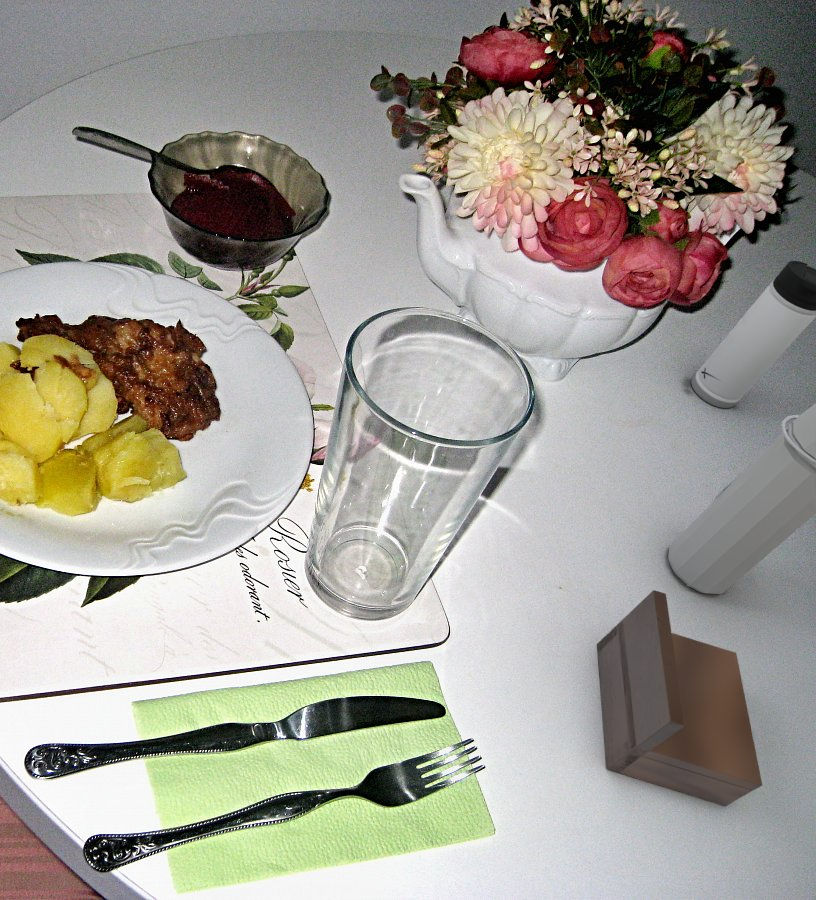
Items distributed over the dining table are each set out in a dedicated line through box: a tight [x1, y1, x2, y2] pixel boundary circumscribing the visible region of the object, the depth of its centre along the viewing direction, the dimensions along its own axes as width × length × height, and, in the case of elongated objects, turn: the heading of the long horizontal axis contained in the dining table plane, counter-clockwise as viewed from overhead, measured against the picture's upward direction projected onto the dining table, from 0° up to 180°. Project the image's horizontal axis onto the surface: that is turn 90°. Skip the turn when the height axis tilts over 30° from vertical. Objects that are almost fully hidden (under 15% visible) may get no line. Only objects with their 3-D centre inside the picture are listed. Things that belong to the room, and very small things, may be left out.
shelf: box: [596, 589, 763, 807], centre depth 79 cm, size 11×13×10 cm
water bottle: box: [667, 402, 816, 595], centre depth 88 cm, size 9×8×25 cm
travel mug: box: [691, 260, 816, 409], centre depth 111 cm, size 6×7×20 cm
